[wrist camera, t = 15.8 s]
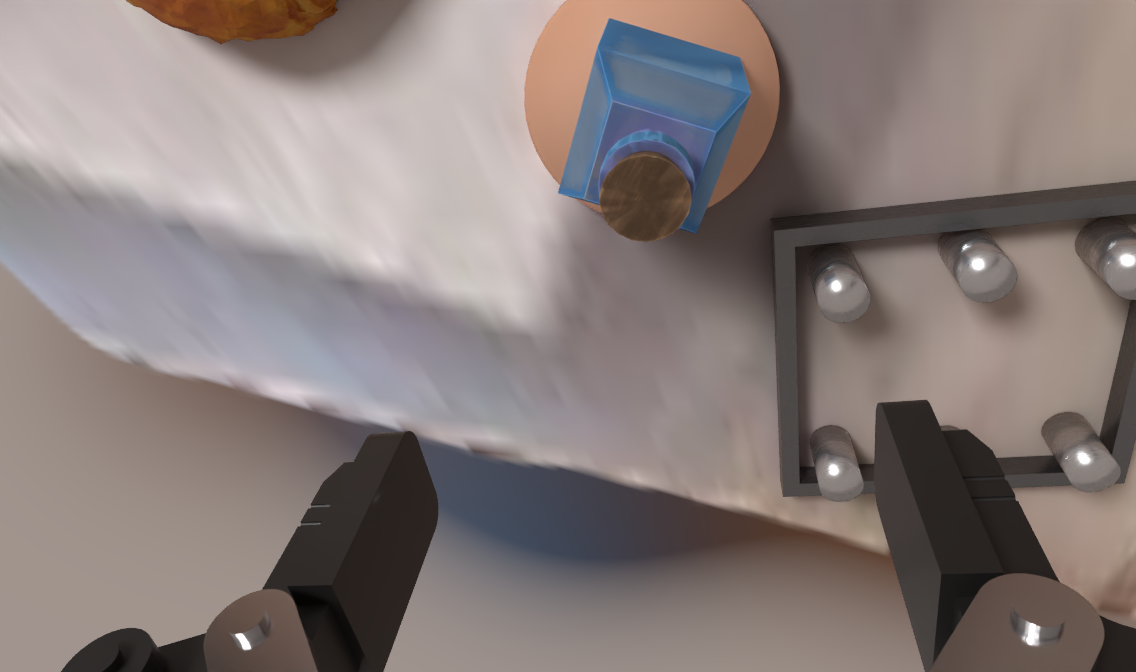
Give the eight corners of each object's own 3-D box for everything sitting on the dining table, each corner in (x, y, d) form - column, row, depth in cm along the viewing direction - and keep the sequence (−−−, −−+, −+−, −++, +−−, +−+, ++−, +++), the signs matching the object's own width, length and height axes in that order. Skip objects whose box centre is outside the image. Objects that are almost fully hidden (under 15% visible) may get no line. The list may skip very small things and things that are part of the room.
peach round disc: (772, -60, 34) (775, -57, 33) (780, 199, 40) (783, 208, 39) (505, -14, 36) (501, -11, 35) (551, 224, 42) (548, 233, 41)
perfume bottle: (694, 181, 39) (700, 299, 29) (574, 146, 38) (537, 252, 28) (740, 57, 35) (765, 140, 25) (609, 17, 35) (582, 85, 25)
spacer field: (1183, 175, 37) (1233, 208, 34) (1111, 465, 46) (1146, 514, 43) (771, 218, 41) (779, 252, 37) (780, 480, 50) (787, 526, 46)
